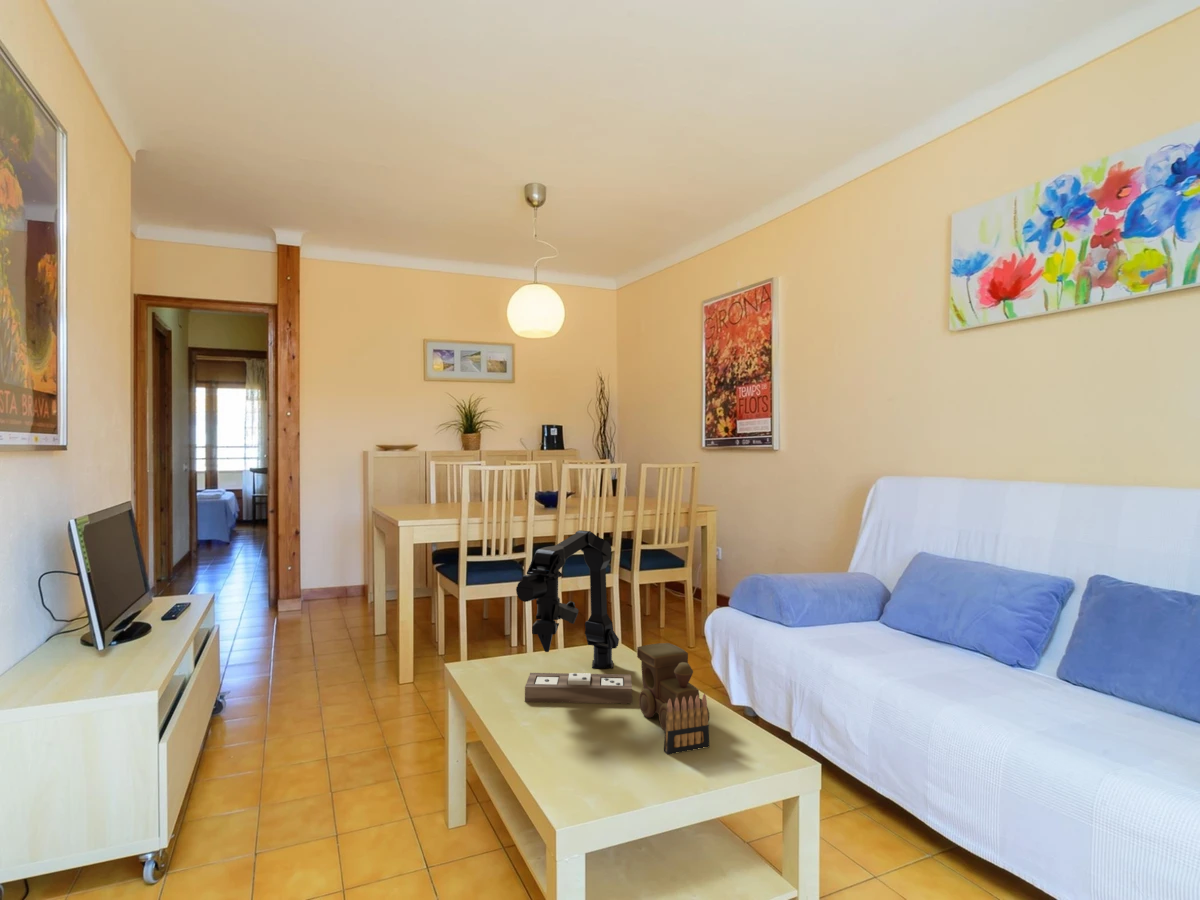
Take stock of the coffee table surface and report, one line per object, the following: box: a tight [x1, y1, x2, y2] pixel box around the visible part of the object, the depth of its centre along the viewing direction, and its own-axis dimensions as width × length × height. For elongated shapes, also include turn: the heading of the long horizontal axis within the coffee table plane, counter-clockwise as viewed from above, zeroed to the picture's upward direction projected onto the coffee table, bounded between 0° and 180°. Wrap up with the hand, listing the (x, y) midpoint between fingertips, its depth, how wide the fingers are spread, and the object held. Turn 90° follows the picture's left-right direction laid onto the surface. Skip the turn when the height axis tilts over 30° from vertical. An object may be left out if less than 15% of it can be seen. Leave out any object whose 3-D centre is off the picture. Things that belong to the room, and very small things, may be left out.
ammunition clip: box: [663, 693, 710, 755], centre depth 146 cm, size 11×2×12 cm, turn 110°
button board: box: [524, 672, 633, 705], centre depth 177 cm, size 11×29×4 cm, turn 89°
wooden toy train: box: [636, 642, 710, 732], centre depth 161 cm, size 20×11×17 cm, turn 24°
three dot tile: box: [601, 678, 623, 686], centre depth 177 cm, size 6×6×3 cm
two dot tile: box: [568, 672, 592, 685], centre depth 177 cm, size 6×6×3 cm
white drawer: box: [535, 677, 559, 684], centre depth 177 cm, size 6×6×3 cm
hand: (547, 651), depth 177 cm, fingers closed
